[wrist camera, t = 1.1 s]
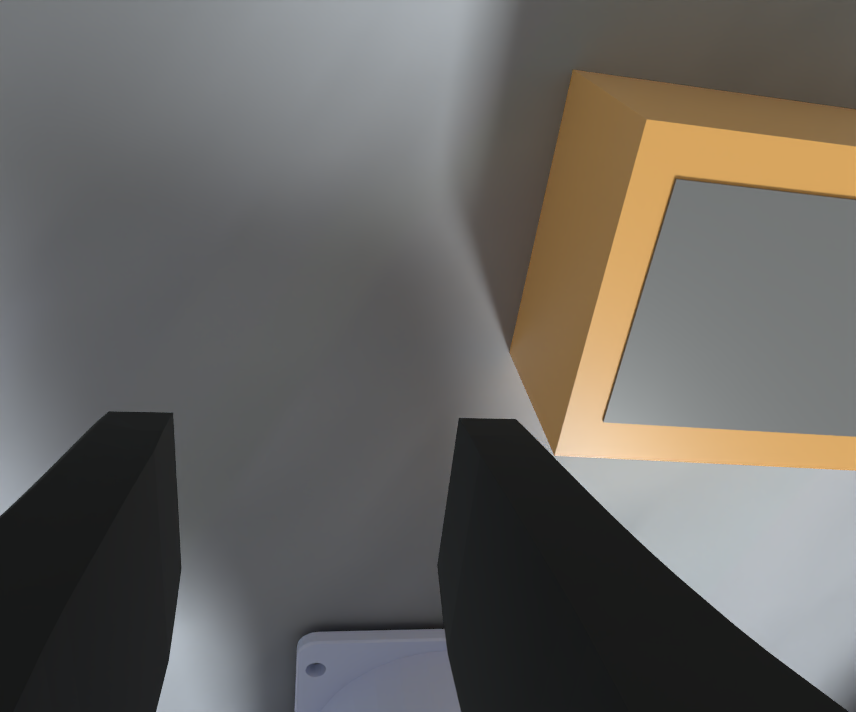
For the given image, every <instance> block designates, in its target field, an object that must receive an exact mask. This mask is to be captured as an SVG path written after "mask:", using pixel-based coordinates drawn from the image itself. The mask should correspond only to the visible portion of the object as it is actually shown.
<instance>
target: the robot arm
mask: <svg viewBox="0 0 856 712" xmlns="http://www.w3.org/2000/svg"><path fill="white" fill-rule="evenodd" d="M437 566H438V575H439V584H440V594H441V603H442V612H443V621H444V629H417V630H374V631H330V632H313V633H309V634H307V635H305V636H303V637H302V638H301V639H300V640H299V641H298V645H297V658H296V684H295V710H294V712H848V711H847V710H846V709H844V708H843V707H841V706H840V705H839V704H837V703H836V702H835V701H833V700H832V699H831V698H829V697H828V696H827V695H825V694H824V693H823V692H821V691H820V690H819V689H817V688H816V687H815V686H813V685H812V684H811V683H809V682H808V681H807V680H805V679H804V678H802V677H801V676H800V675H798V674H797V673H796V672H794V671H793V670H792V669H790V668H789V667H788V666H786V665H785V664H784V663H782V662H781V661H780V660H778V659H777V658H776V657H774V656H773V655H772V654H770V653H769V652H768V651H766V650H765V649H764V648H763V647H761V646H760V645H759V644H758V643H756V642H755V641H754V640H753V639H751V638H750V637H749V636H748V635H746V634H745V633H744V632H743V631H741V630H740V629H739V628H738V627H736V626H735V625H734V624H733V623H731V622H730V621H729V620H728V619H727V618H726V617H724V616H723V615H722V614H721V613H720V612H719V611H717V610H716V609H715V608H714V607H713V606H712V605H710V604H709V603H708V602H707V601H706V600H704V599H703V598H702V597H701V596H700V595H699V594H697V593H696V592H695V591H694V590H693V589H692V588H690V587H689V586H688V585H687V584H686V583H685V582H683V581H682V580H681V579H680V578H679V577H678V576H676V575H675V574H674V573H673V572H672V571H671V570H670V569H669V568H668V567H666V566H665V565H664V564H663V563H662V562H661V561H660V560H659V559H658V558H657V557H655V556H654V555H653V554H652V553H651V552H650V551H649V550H648V549H647V548H646V547H645V546H643V545H642V544H641V543H640V542H639V541H638V540H637V539H636V538H635V537H634V536H633V535H632V534H631V533H630V532H629V531H628V530H626V529H625V528H624V527H623V526H622V525H621V524H620V523H619V522H618V521H617V520H616V519H615V518H614V517H613V516H612V515H611V514H610V513H609V512H608V511H607V510H606V509H605V508H604V507H603V506H602V505H601V504H600V503H599V502H598V501H597V500H596V499H595V498H594V497H593V496H592V495H591V494H590V493H589V492H588V491H587V490H586V489H585V488H584V487H583V486H582V485H581V484H580V483H579V482H578V481H577V480H576V479H575V478H574V477H573V476H572V475H571V474H570V473H569V472H568V471H567V470H566V469H565V468H564V467H563V466H562V465H561V464H560V463H559V462H558V461H557V460H556V459H555V458H554V457H553V456H552V455H551V454H550V453H549V452H548V451H547V450H546V449H545V448H544V447H543V446H542V445H541V444H540V443H539V442H538V441H537V440H536V439H535V438H534V437H533V436H532V435H531V434H530V433H529V432H528V431H527V430H526V429H525V428H524V427H523V426H522V425H521V424H520V423H519V422H518V421H517V420H516V419H478V418H459V421H458V428H457V435H456V442H455V449H454V456H453V463H452V469H451V476H450V483H449V490H448V497H447V504H446V510H445V517H444V524H443V531H442V538H441V545H440V552H439V558H438V565H437ZM180 574H181V554H180V535H179V516H178V498H177V479H176V461H175V442H174V424H173V413H156V412H108V413H107V414H105V415H104V416H103V417H102V418H101V419H100V420H98V421H97V422H96V423H95V424H94V425H93V426H92V427H91V428H90V429H89V430H88V431H87V432H86V433H85V434H84V435H83V436H82V437H81V438H80V439H79V440H78V441H77V442H76V443H75V444H74V445H73V446H72V447H71V448H70V449H69V450H68V451H67V452H66V453H65V454H64V455H63V456H62V457H61V458H60V459H59V460H58V461H57V462H56V463H55V464H54V465H53V466H52V467H51V468H50V469H49V470H48V471H47V472H46V473H45V474H44V475H43V476H42V477H41V478H40V479H39V480H38V481H37V482H36V483H35V484H34V485H33V486H32V487H31V488H29V489H28V490H27V491H26V492H25V493H24V494H23V495H22V496H21V497H20V498H19V499H18V500H17V501H16V502H15V503H14V504H13V505H12V506H11V507H10V508H8V509H7V510H6V511H5V512H4V513H3V514H2V515H1V516H0V712H156V709H157V705H158V701H159V697H160V693H161V689H162V685H163V681H164V677H165V673H166V669H167V665H168V661H169V654H170V647H171V641H172V634H173V627H174V620H175V612H176V605H177V597H178V589H179V582H180ZM313 663H321V664H316V665H315V664H313Z"/></svg>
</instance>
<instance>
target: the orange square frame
mask: <svg viewBox="0 0 856 712" xmlns="http://www.w3.org/2000/svg"><path fill="white" fill-rule="evenodd" d="M509 353H510V355H511V357H512V360H513V362H514V364H515V367H516V369H517V371H518V373H519V376H520V378H521V380H522V383H523V385H524V387H525V389H526V392H527V394H528V396H529V399H530V401H531V403H532V405H533V408H534V410H535V412H536V415H537V417H538V419H539V421H540V424H541V426H542V428H543V431H544V433H545V435H546V437H547V440H548V442H549V444H550V447H551V449H552V451H553V453H554V456H568V457H589V458H610V459H630V460H651V461H671V462H692V463H713V464H733V465H754V466H775V467H795V468H816V469H836V470H856V109H850V108H843V107H836V106H828V105H821V104H814V103H807V102H800V101H793V100H786V99H779V98H772V97H764V96H757V95H750V94H743V93H736V92H729V91H722V90H715V89H708V88H700V87H693V86H686V85H679V84H672V83H665V82H658V81H651V80H644V79H636V78H629V77H622V76H615V75H608V74H601V73H594V72H587V71H580V70H573V71H572V76H571V80H570V85H569V89H568V94H567V98H566V103H565V107H564V111H563V116H562V120H561V125H560V129H559V134H558V138H557V143H556V147H555V152H554V156H553V160H552V165H551V169H550V174H549V178H548V183H547V187H546V192H545V196H544V201H543V205H542V209H541V214H540V218H539V223H538V227H537V232H536V236H535V241H534V245H533V250H532V254H531V258H530V263H529V267H528V272H527V276H526V281H525V285H524V290H523V294H522V299H521V303H520V307H519V312H518V316H517V321H516V325H515V330H514V334H513V339H512V343H511V348H510V352H509Z"/></svg>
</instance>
